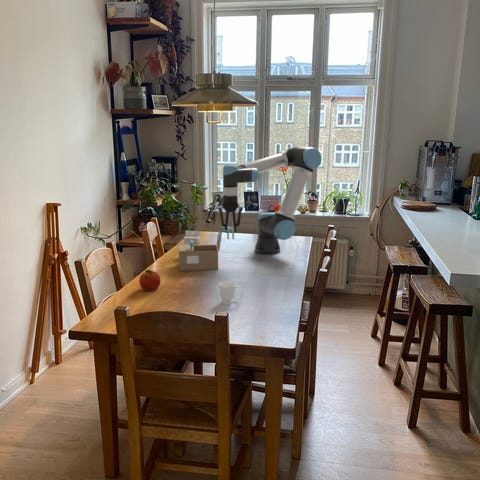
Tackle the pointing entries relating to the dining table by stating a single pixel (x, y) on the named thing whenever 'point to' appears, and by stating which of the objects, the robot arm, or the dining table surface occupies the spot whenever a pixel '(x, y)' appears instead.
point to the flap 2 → (220, 236)
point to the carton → (199, 258)
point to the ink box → (192, 237)
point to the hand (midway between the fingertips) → (230, 238)
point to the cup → (228, 292)
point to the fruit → (149, 280)
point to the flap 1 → (187, 247)
